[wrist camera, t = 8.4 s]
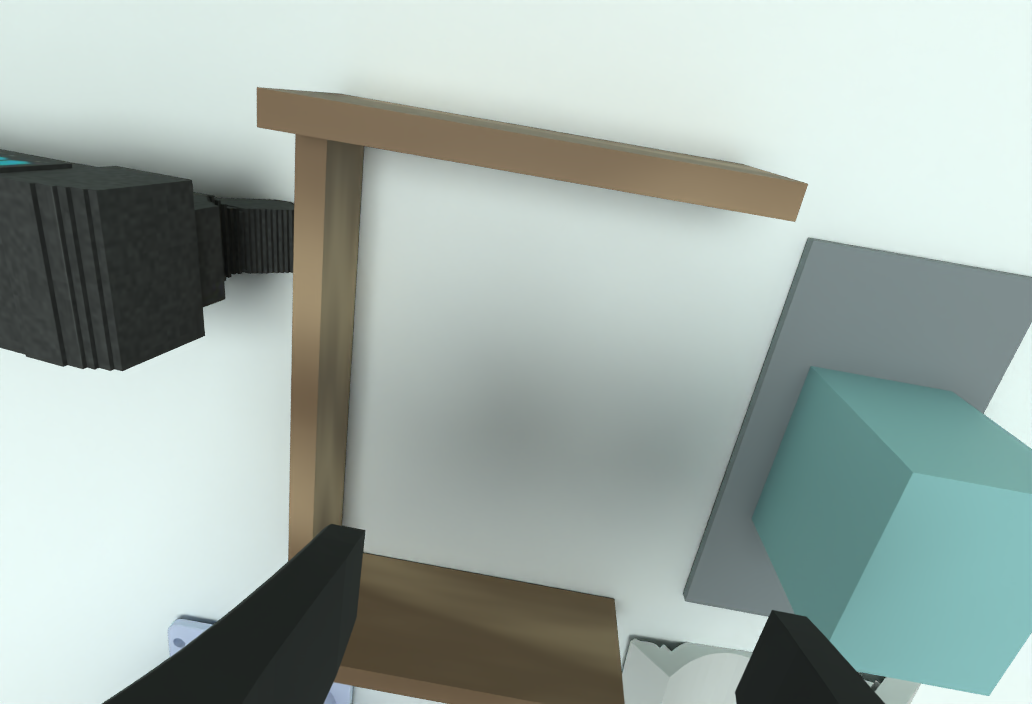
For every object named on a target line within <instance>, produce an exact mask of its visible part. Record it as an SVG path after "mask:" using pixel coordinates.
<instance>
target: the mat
mask: <svg viewBox="0 0 1032 704" xmlns="http://www.w3.org/2000/svg"><path fill="white" fill-rule="evenodd" d="M1031 322H1032V277H1029V276H1023V275H1017V274H1012V273H1006V272H1000V271H995V270H989V269H983V268H978V267H972V266H966V265H961V264H955V263H949V262H944V261H938V260H932V259H927V258H921V257H915V256H910V255H904V254H898V253H893V252H887V251H881V250H876V249H870V248H864V247H858V246H853V245H847V244H841V243H836V242H830V241H824V240H819V239H813V238H808V240H807V243H806V246H805V249H804V252H803V254H802V257H801V260H800V263H799V266H798V269H797V272H796V274H795V277H794V280H793V283H792V286H791V289H790V291H789V294H788V297H787V300H786V303H785V306H784V308H783V311H782V314H781V317H780V320H779V323H778V326H777V328H776V331H775V334H774V337H773V340H772V343H771V345H770V348H769V351H768V354H767V357H766V360H765V362H764V365H763V368H762V371H761V374H760V377H759V380H758V382H757V385H756V388H755V391H754V394H753V397H752V399H751V402H750V405H749V408H748V411H747V414H746V416H745V419H744V422H743V425H742V428H741V431H740V434H739V436H738V439H737V442H736V445H735V448H734V451H733V453H732V456H731V459H730V462H729V465H728V468H727V470H726V473H725V476H724V479H723V482H722V485H721V488H720V490H719V493H718V496H717V499H716V502H715V505H714V507H713V510H712V513H711V516H710V519H709V522H708V524H707V527H706V530H705V533H704V536H703V539H702V542H701V544H700V547H699V550H698V553H697V556H696V559H695V561H694V564H693V567H692V570H691V573H690V576H689V578H688V581H687V584H686V587H685V590H684V593H683V594H684V599H685V601H687V602H692V603H697V604H703V605H708V606H714V607H719V608H725V609H730V610H735V611H741V612H746V613H752V614H757V615H763V616H768V617H769V615H770V613H771V611H772V610H776V611H781V612H786V613H791V614H795V613H794V611H793V609H792V607H791V604H790V602H789V600H788V598H787V596H786V593H785V591H784V589H783V587H782V585H781V582H780V580H779V578H778V576H777V574H776V571H775V569H774V567H773V565H772V563H771V560H770V558H769V556H768V554H767V552H766V549H765V547H764V545H763V543H762V541H761V538H760V536H759V534H758V532H757V530H756V528H755V525H754V523H753V521H752V516H753V514H754V511H755V508H756V506H757V503H758V501H759V498H760V496H761V493H762V490H763V488H764V485H765V483H766V480H767V477H768V475H769V472H770V470H771V467H772V465H773V462H774V459H775V457H776V454H777V452H778V449H779V447H780V444H781V441H782V439H783V436H784V434H785V431H786V428H787V426H788V423H789V421H790V418H791V416H792V413H793V410H794V408H795V405H796V403H797V400H798V398H799V395H800V392H801V390H802V387H803V385H804V382H805V379H806V377H807V374H808V372H809V369H810V367H811V366H814V367H820V368H825V369H831V370H836V371H842V372H847V373H853V374H858V375H864V376H869V377H875V378H880V379H886V380H892V381H897V382H903V383H908V384H914V385H919V386H925V387H930V388H936V389H941V390H947V391H952V392H954V393H955V394H956V395H958V396H959V397H961V398H962V399H963V400H965V401H966V402H967V403H969V404H970V405H972V406H973V407H974V408H976V409H977V410H978V411H980V412H981V413H983V414H984V412H985V410H986V408H987V406H988V404H989V402H990V400H991V398H992V397H993V395H994V393H995V391H996V389H997V387H998V385H999V383H1000V381H1001V379H1002V378H1003V376H1004V374H1005V372H1006V370H1007V368H1008V366H1009V364H1010V362H1011V360H1012V359H1013V357H1014V355H1015V353H1016V351H1017V349H1018V347H1019V345H1020V343H1021V341H1022V340H1023V338H1024V336H1025V334H1026V332H1027V330H1028V328H1029V326H1030V324H1031Z"/></svg>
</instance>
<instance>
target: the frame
mask: <svg viewBox="0 0 1032 704" xmlns="http://www.w3.org/2000/svg"><path fill="white" fill-rule="evenodd" d="M257 127H259V128H265V129H271V130H276V131H282V132H288V133H293V134H296V139H295V198H294V257H293V316H292V375H291V434H290V493H289V552H288V561H290V560H291V559H292V558H293V557H294V556H295V555H296V554H297V553H298V552H299V551H300V550H301V549H303V548H304V547H305V546H306V545H307V544H308V543H309V542H310V541H311V540H312V539H313V538H314V537H315V536H316V535H317V534H318V533H319V532H320V531H321V530H323V529H324V528H325V527H326V526H328V525H330V524H335V525H340V526H342V510H343V493H344V476H345V460H346V443H347V426H348V409H349V392H350V375H351V358H352V341H353V324H354V307H355V290H356V273H357V257H358V240H359V223H360V206H361V189H362V172H363V155H364V146H367V147H373V148H379V149H384V150H390V151H396V152H401V153H407V154H413V155H418V156H424V157H430V158H435V159H441V160H447V161H452V162H458V163H464V164H470V165H475V166H481V167H487V168H492V169H498V170H504V171H509V172H515V173H521V174H526V175H532V176H538V177H543V178H549V179H555V180H561V181H566V182H572V183H578V184H583V185H589V186H595V187H600V188H606V189H612V190H617V191H623V192H629V193H634V194H640V195H646V196H651V197H657V198H663V199H669V200H674V201H680V202H686V203H691V204H697V205H703V206H708V207H714V208H720V209H725V210H731V211H737V212H742V213H748V214H754V215H759V216H765V217H771V218H777V219H782V220H788V221H794V222H795V221H796V218H797V215H798V212H799V209H800V206H801V203H802V200H803V197H804V195H805V192H806V189H807V186H808V184H807V183H804V182H800V181H797V180H794V179H790V178H787V177H784V176H780V175H777V174H774V173H770V172H767V171H764V170H760V169H757V168H754V167H750V166H747V165H744V164H738V163H733V162H727V161H721V160H716V159H710V158H704V157H698V156H693V155H687V154H681V153H676V152H670V151H664V150H658V149H653V148H647V147H641V146H636V145H630V144H624V143H618V142H613V141H607V140H601V139H596V138H590V137H584V136H578V135H573V134H567V133H561V132H556V131H550V130H544V129H538V128H533V127H527V126H521V125H516V124H510V123H504V122H498V121H493V120H487V119H481V118H476V117H470V116H464V115H458V114H453V113H447V112H441V111H435V110H430V109H424V108H418V107H413V106H407V105H401V104H395V103H390V102H384V101H378V100H373V99H367V98H361V97H355V96H350V95H344V94H337V93H324V92H311V91H298V90H285V89H272V88H259V87H257ZM334 682H335V683H340V684H345V685H351V686H356V687H361V688H367V689H372V690H377V691H383V692H388V693H393V694H399V695H404V696H410V697H415V698H420V699H426V700H431V701H436V702H442V703H447V704H625V701H624V691H623V681H622V671H621V660H620V650H619V640H618V630H617V620H616V610H615V600H614V599H611V598H605V597H600V596H594V595H589V594H584V593H578V592H573V591H567V590H562V589H556V588H551V587H546V586H540V585H535V584H529V583H524V582H518V581H513V580H507V579H502V578H497V577H491V576H486V575H480V574H475V573H469V572H464V571H459V570H453V569H448V568H442V567H437V566H431V565H426V564H420V563H415V562H410V561H404V560H399V559H393V558H388V557H382V556H377V555H372V554H366V553H363V558H362V568H361V578H360V588H359V598H358V608H357V618H356V621H355V624H354V627H353V630H352V633H351V636H350V638H349V641H348V644H347V647H346V650H345V653H344V656H343V659H342V661H341V664H340V667H339V670H338V673H337V675H336V678H335V680H334Z"/></svg>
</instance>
